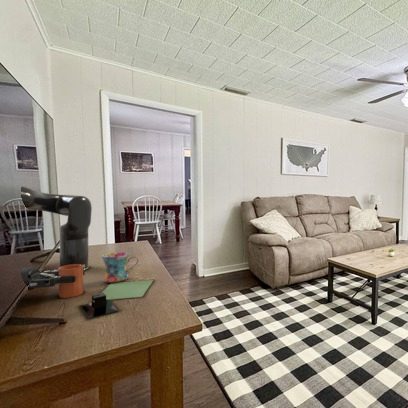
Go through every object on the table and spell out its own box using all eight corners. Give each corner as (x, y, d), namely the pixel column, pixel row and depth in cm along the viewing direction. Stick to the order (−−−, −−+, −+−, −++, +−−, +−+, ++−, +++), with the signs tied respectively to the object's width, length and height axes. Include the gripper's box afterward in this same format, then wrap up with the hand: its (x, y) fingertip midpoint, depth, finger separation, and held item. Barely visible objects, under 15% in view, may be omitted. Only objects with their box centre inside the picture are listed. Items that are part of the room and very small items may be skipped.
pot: (64, 291, 101) (64, 264, 100) (86, 290, 104) (86, 263, 103) (55, 298, 95) (54, 269, 95) (78, 296, 98) (78, 268, 97)
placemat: (111, 283, 111) (111, 282, 111) (153, 280, 117) (153, 280, 117) (92, 301, 95) (92, 300, 95) (142, 297, 100) (142, 296, 100)
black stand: (80, 306, 91) (80, 292, 91) (108, 300, 97) (108, 287, 96) (88, 319, 83) (88, 303, 83) (119, 311, 89) (119, 297, 89)
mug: (99, 285, 108) (99, 258, 107) (103, 279, 115) (103, 253, 115) (137, 281, 114) (138, 255, 114) (138, 275, 122) (139, 251, 122)
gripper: (-1, 275, 87) (69, 271, 93) (28, 262, 100) (88, 260, 106) (0, 298, 87) (70, 293, 94) (29, 283, 100) (88, 279, 107)
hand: (79, 275), depth 100 cm, fingers closed on pot, 6 cm apart
